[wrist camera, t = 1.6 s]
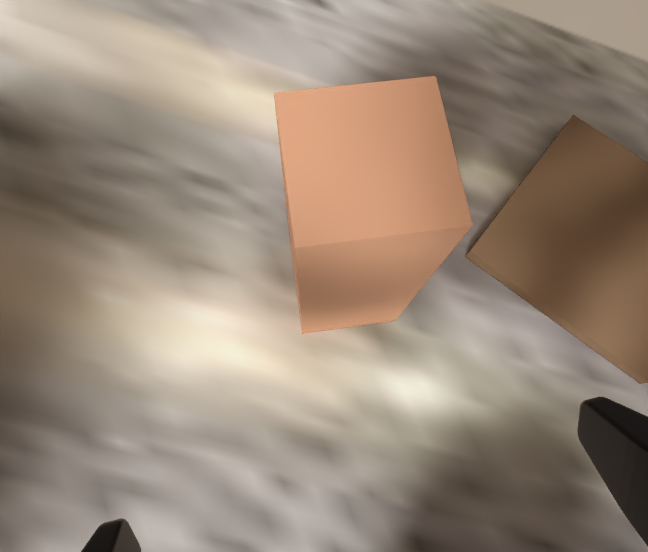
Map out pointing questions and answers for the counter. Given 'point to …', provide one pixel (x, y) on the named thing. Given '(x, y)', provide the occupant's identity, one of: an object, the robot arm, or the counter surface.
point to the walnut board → (580, 244)
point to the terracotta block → (367, 197)
